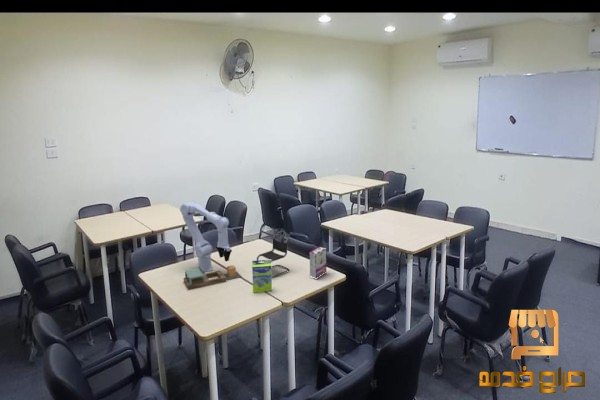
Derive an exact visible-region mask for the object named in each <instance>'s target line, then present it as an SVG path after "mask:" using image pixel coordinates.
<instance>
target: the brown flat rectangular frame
mask: <svg viewBox="0 0 600 400" xmlns="http://www.w3.org/2000/svg"><path fill="white" fill-rule="evenodd" d="M223 274H224V273H223V272H222V271H221V270H215V271H209V272H206V273H205V276H206V282H204V276H203V277H198V278H193V279H191V282H192V285H190V282H189V278H188V276H187V278H185V277H183V283H184V285H185V286H186V289H187V290H188V291H190V290H194V289H199V288H203V287H208V286H213V285H218V284H223V283H226V282H227V279H226V277H225V276H224V275H223ZM216 277H217V278H216Z"/></svg>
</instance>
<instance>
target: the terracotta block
mask: <svg viewBox="0 0 600 400" xmlns="http://www.w3.org/2000/svg"><path fill="white" fill-rule="evenodd" d="M236 271H237V269H236V267H235V266H234V265H232V264H231V265H230V266H226V273H227V275H228V276H229V277H234V276H236Z"/></svg>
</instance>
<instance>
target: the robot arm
mask: <svg viewBox="0 0 600 400" xmlns="http://www.w3.org/2000/svg"><path fill="white" fill-rule="evenodd" d="M179 211H180V213H181V215H182V219H183V221H184V223H185V225H186V227H187V229H188V231H189V233H190V236H191V237H192V239H193V241H194V243H195V246H194V248H193V249H194V251H195V255H196V256H197V260H198V261H197V262H198V266H197V267H196V268H199V265H201V266H202V268H203V269H204V271H205V272H206V273H207V272H212V271H214V268H213V267H212V259H211V255H212V252H213V246H212V245H211V243H210V242H209V241H208V240H205V239H204V237H203V234H202V233H201V230H200V229H199V227H198V225H197V223H196V221H195V219H194V215H195V213H198V214H200V215H201V216H204V217H206V220H207V221H209V222H210V223H212V224H214V226H215V228H216V230H217V236H218V237H217V239H218V241H217V242H216V246H215V248H216V250H217V252H218V255H219V258H220V259H221V258H224V261H225V262H229V261H230V256H231V253H232V252H233V251H232V250H233V249H232V248H231V247H230V244H229V236H228V226H229V224H230V220H229V219H228V217H225V216H221V215H219V214H217V213H216V212H215V211H208V210H207V209H206V208H204V207H203V206H201V205H200V203H198V202H197V201H196V200H192V201H190V202H186V203H182V204H181V206H180V208H179Z"/></svg>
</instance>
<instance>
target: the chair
mask: <svg viewBox="0 0 600 400" xmlns="http://www.w3.org/2000/svg"><path fill="white" fill-rule="evenodd" d="M276 236H279V237H283V238H285V242H281V241H278V240H276V239H275V237H276ZM290 239H291V237H290V236H287V235H285V234H281V233H279V232H278V233H274V234H273V235H272V249H271V250H270V251H266V252H263V253H261V254H260V253H259V255H258V256H257V257H256V261H258V260H259V259H260V257H263V258H265V259H266V260H270V263H271V264H272V263H273V262H275V261H278V260H281V259H284V258H285V257H286V256H287V255H288V241H289V240H290ZM275 250H276V251H278V252H281V253H284V254H278V253H276V252H274V251H275ZM274 266H282V267H284V268H286V269H288V270H286V269H285V270H284V271H282V272H280V273H277V274H274V275H272V277H274V276H277V275H279V274H282V273H284V272H287V271H289V272H290V269H289V268H288V267H285V266H284V265H280V264H275V265H271V267H274ZM274 268H275V267H274ZM284 268H283V269H284ZM287 273H288V272H287ZM284 274H285V273H284ZM282 275H283V274H282ZM279 276H280V275H279ZM277 277H278V276H277ZM274 278H275V277H274Z"/></svg>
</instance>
